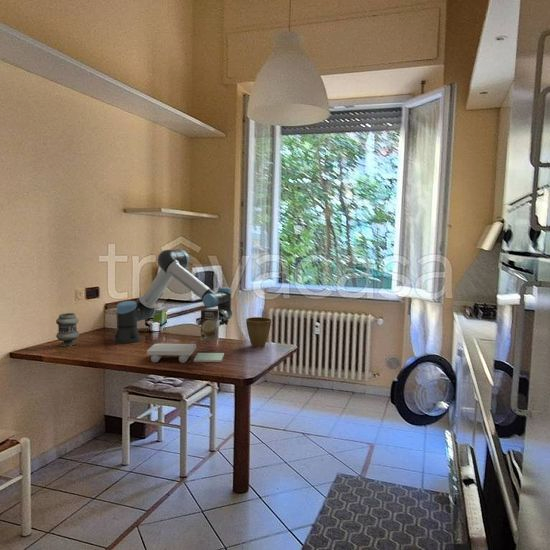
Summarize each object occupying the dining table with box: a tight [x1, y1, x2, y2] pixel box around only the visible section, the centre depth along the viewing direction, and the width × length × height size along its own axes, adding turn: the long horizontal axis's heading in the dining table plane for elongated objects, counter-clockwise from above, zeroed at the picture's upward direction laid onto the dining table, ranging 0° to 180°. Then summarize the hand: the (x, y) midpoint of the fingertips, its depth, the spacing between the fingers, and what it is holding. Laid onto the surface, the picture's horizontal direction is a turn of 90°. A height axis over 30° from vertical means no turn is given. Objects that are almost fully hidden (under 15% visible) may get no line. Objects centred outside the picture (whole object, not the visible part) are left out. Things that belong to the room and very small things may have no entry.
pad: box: [193, 352, 225, 363], centre depth 242 cm, size 14×14×1 cm
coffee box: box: [200, 308, 220, 342], centre depth 240 cm, size 9×6×16 cm
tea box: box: [149, 306, 169, 332], centre depth 314 cm, size 15×10×15 cm
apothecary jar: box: [55, 312, 80, 347], centre depth 265 cm, size 12×12×18 cm
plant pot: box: [245, 316, 272, 348], centre depth 269 cm, size 15×15×16 cm
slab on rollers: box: [146, 343, 197, 364], centre depth 239 cm, size 22×16×6 cm
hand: (207, 324), depth 236 cm, fingers closed on coffee box, 10 cm apart
